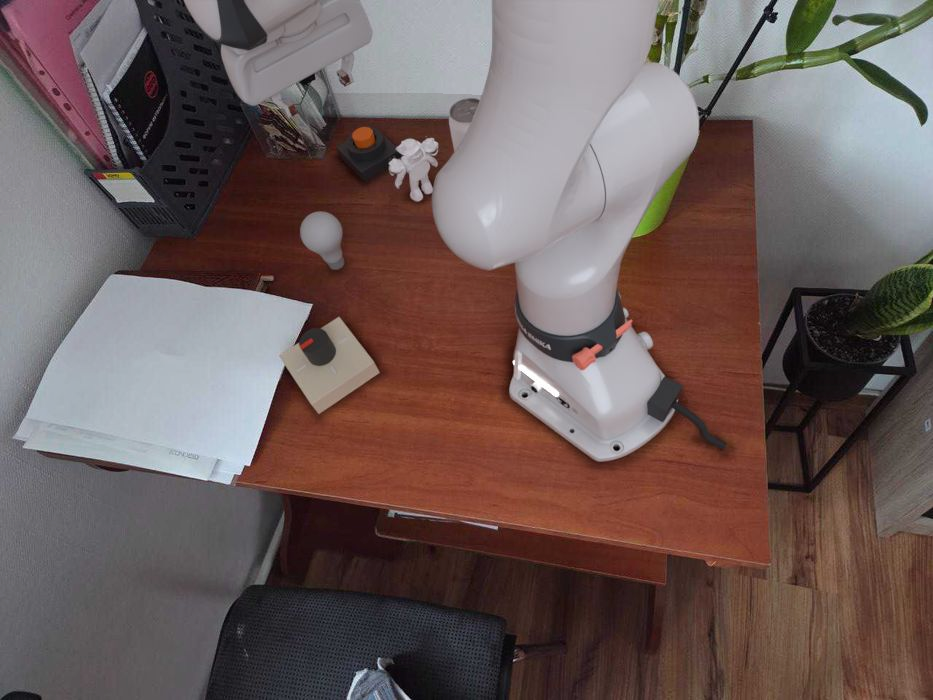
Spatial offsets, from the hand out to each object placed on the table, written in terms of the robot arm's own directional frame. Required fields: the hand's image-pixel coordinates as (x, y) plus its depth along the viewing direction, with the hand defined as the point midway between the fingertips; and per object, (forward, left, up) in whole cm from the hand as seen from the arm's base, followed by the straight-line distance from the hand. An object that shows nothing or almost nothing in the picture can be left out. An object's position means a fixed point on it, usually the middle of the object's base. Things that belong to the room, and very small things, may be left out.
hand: (319, 98), depth 88 cm
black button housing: (+8, -7, -20) cm, 22 cm away
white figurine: (-6, -9, -20) cm, 23 cm away
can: (-8, -19, -20) cm, 29 cm away
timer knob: (-25, +20, -17) cm, 37 cm away
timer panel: (-26, +20, -20) cm, 39 cm away
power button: (+8, -7, -16) cm, 19 cm away
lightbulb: (-10, +10, -20) cm, 25 cm away
